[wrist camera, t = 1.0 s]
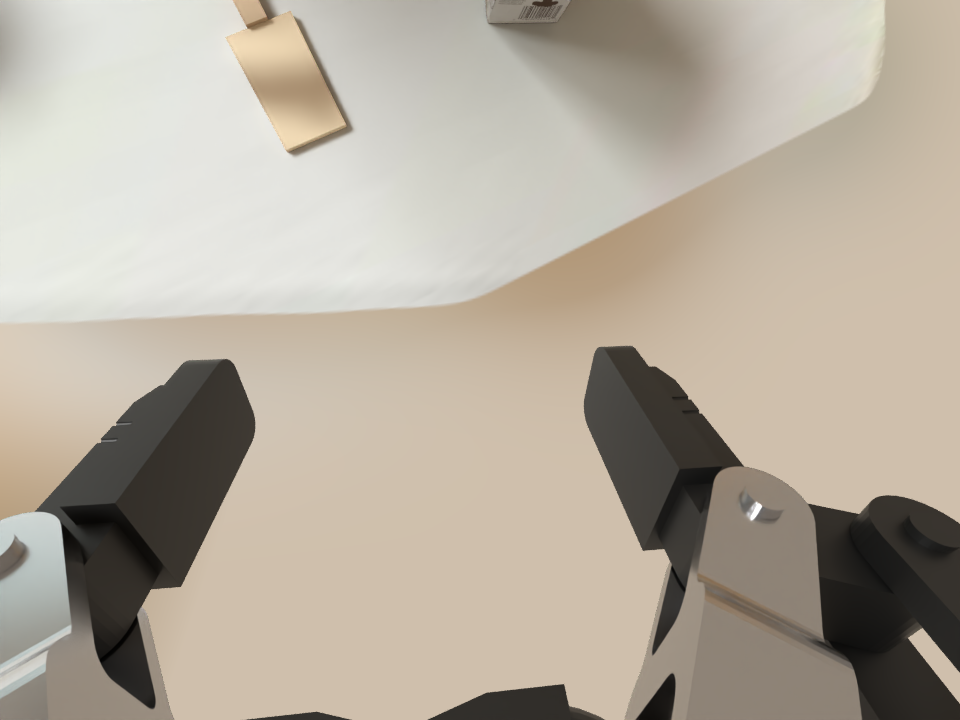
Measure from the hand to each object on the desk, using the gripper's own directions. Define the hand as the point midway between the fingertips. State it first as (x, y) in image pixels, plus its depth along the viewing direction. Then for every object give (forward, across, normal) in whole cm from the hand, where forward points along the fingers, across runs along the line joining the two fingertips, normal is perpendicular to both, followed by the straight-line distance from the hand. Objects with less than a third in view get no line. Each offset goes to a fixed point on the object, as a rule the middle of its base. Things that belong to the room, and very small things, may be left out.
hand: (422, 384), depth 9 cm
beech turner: (+33, +13, -10) cm, 37 cm away
